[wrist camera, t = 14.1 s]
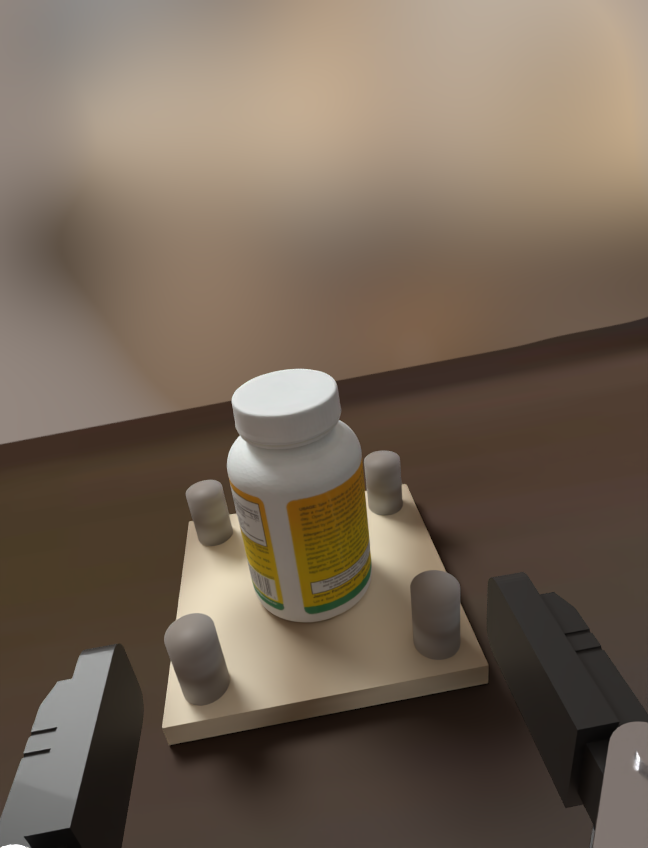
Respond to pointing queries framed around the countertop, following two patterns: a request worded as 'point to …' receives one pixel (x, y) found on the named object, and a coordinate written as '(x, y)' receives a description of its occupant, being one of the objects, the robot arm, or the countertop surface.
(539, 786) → the countertop surface
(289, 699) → the pin base
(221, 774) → the countertop surface
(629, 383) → the countertop surface
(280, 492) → the supplement bottle
